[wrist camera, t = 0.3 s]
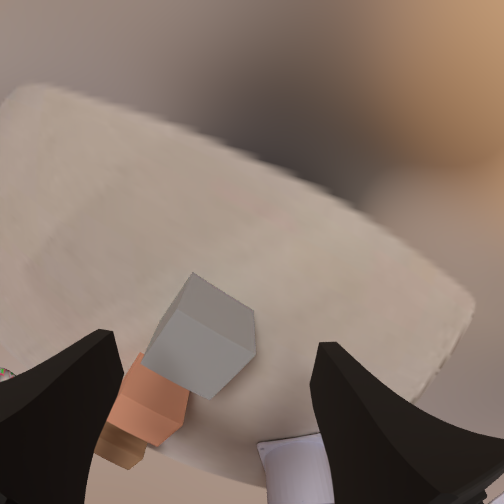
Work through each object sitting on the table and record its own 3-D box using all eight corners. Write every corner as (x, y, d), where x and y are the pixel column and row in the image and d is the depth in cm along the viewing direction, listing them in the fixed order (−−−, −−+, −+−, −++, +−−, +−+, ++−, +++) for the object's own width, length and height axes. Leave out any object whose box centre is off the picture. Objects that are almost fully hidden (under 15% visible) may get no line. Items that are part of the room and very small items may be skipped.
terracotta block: (191, 380, 22) (182, 424, 17) (167, 406, 23) (157, 446, 18) (140, 351, 21) (121, 393, 16) (121, 381, 22) (104, 419, 17)
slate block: (253, 309, 20) (256, 354, 15) (215, 353, 21) (209, 400, 16) (193, 271, 18) (176, 308, 14) (159, 321, 20) (140, 363, 15)
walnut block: (153, 422, 24) (142, 458, 19) (138, 437, 25) (128, 470, 20) (111, 399, 23) (95, 434, 18) (100, 417, 24) (86, 448, 19)
